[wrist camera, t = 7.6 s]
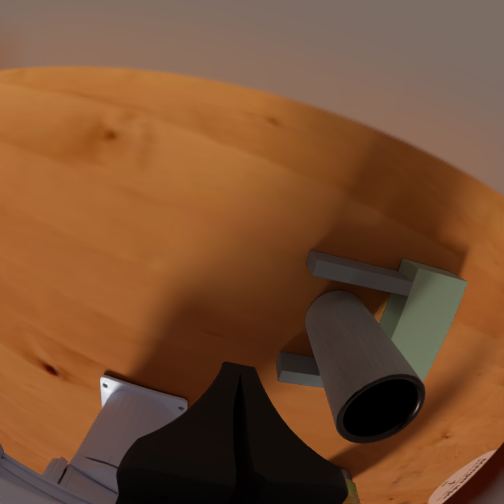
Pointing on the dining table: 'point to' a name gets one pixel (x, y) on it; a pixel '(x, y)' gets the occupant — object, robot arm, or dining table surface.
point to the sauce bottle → (350, 489)
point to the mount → (389, 311)
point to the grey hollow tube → (361, 370)
